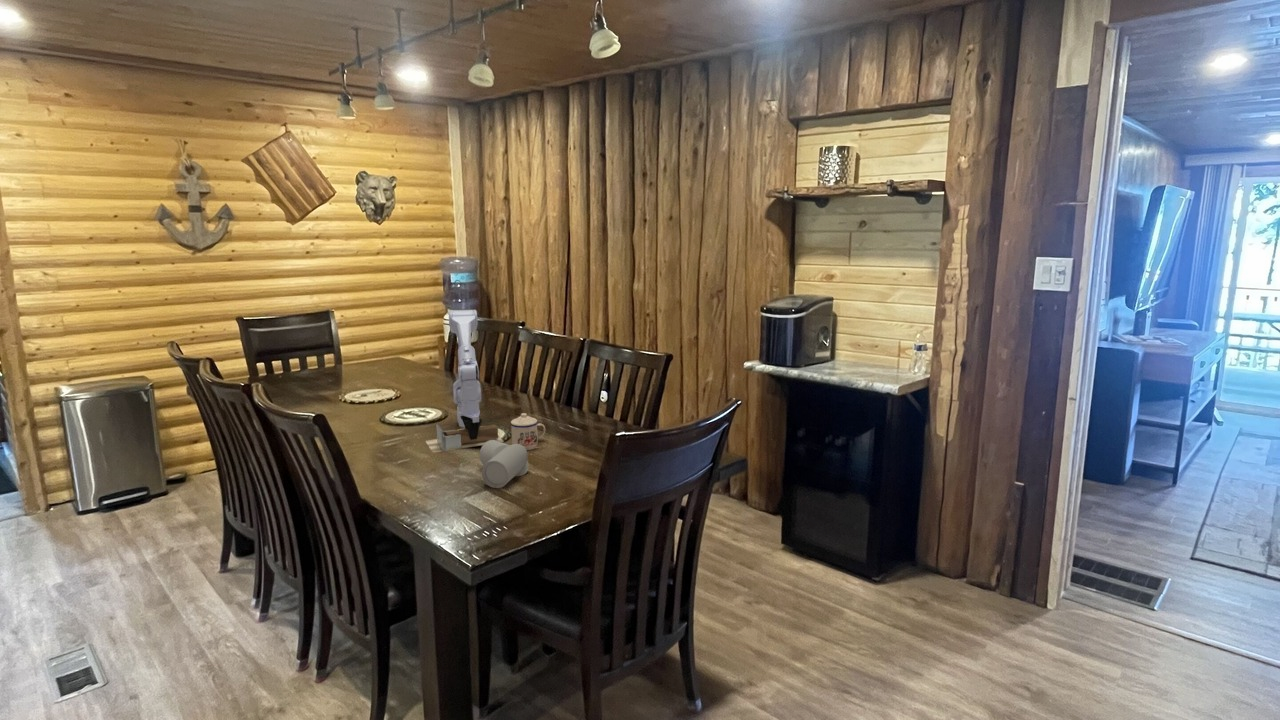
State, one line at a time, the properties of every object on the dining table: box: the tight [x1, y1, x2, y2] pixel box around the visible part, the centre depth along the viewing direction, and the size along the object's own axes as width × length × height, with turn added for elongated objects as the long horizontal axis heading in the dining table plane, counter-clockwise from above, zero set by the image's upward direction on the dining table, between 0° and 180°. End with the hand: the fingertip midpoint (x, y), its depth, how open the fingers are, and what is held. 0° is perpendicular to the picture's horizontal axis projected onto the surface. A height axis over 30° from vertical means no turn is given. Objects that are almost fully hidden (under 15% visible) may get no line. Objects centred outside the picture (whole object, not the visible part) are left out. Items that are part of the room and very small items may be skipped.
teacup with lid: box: [510, 412, 546, 451], centre depth 236 cm, size 12×9×12 cm
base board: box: [424, 435, 505, 454], centre depth 240 cm, size 14×24×1 cm, turn 117°
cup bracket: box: [435, 424, 462, 452], centre depth 234 cm, size 8×6×7 cm
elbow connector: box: [478, 440, 530, 489], centre depth 210 cm, size 18×11×20 cm
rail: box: [445, 424, 499, 444], centre depth 237 cm, size 4×17×4 cm, turn 117°
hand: (472, 437), depth 237 cm, fingers closed on rail, 3 cm apart
